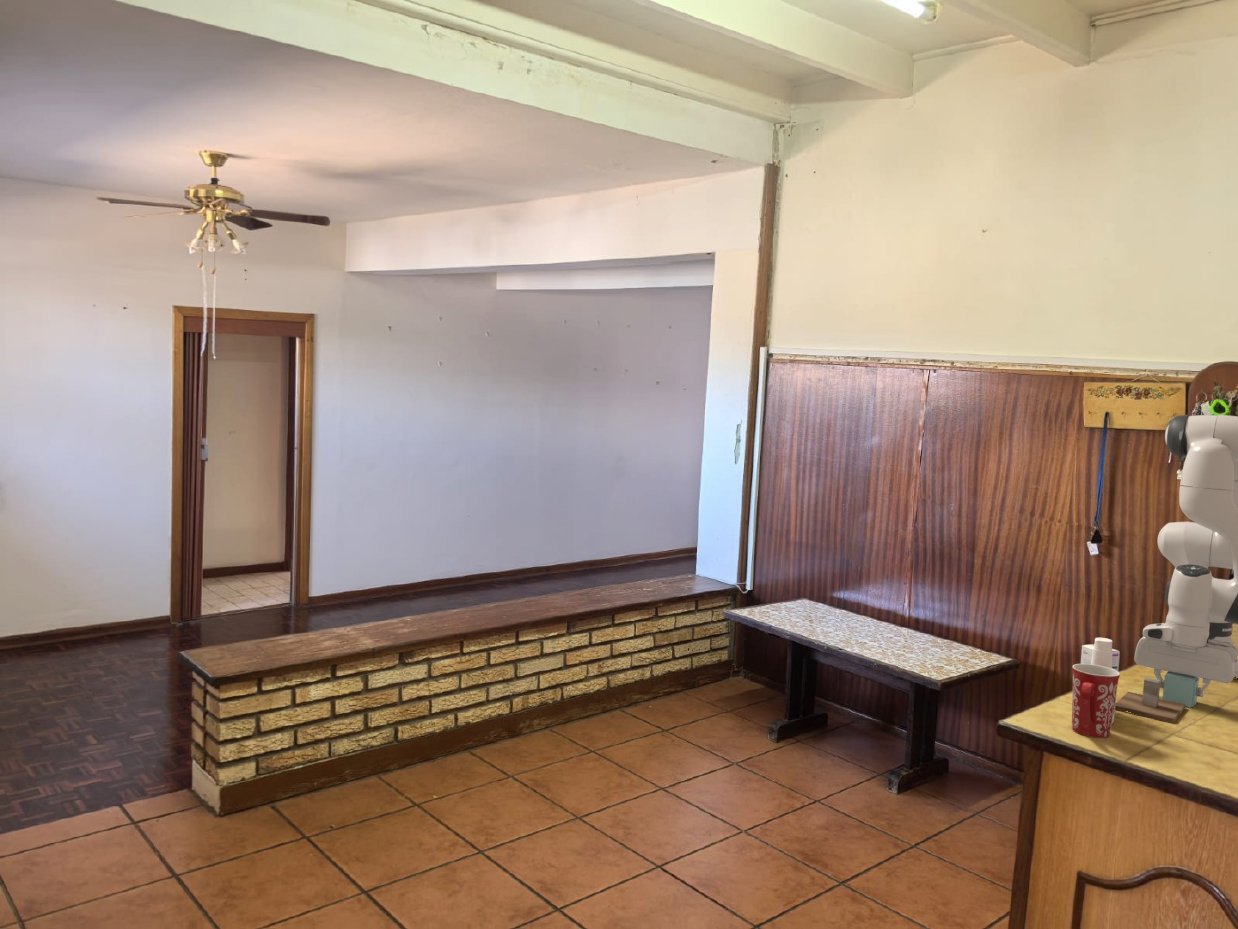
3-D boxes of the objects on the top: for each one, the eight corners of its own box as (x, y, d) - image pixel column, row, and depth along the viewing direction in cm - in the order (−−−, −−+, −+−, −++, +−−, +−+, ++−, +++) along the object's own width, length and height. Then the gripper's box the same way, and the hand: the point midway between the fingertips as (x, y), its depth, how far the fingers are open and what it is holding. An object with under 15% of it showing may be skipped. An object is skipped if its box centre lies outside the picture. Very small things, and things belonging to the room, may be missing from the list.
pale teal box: (1166, 695, 230) (1169, 668, 230) (1197, 701, 226) (1200, 674, 226) (1161, 701, 226) (1164, 673, 225) (1192, 708, 221) (1195, 680, 221)
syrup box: (1115, 714, 214) (1121, 650, 213) (1093, 715, 213) (1099, 651, 212) (1097, 705, 220) (1103, 643, 219) (1075, 706, 218) (1081, 644, 217)
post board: (1127, 695, 228) (1130, 667, 228) (1185, 708, 221) (1188, 679, 220) (1113, 709, 218) (1116, 680, 217) (1173, 723, 210) (1176, 693, 210)
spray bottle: (1117, 727, 206) (1125, 645, 204) (1083, 723, 207) (1091, 642, 206) (1108, 716, 213) (1115, 637, 211) (1075, 712, 214) (1082, 634, 212)
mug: (1073, 721, 209) (1079, 660, 207) (1119, 732, 203) (1125, 670, 201) (1055, 735, 199) (1061, 672, 198) (1102, 747, 193) (1108, 682, 192)
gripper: (1240, 641, 220) (1234, 700, 222) (1141, 623, 233) (1136, 679, 235) (1236, 646, 215) (1230, 706, 217) (1135, 628, 229) (1130, 684, 230)
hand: (1180, 692), depth 226 cm, fingers closed on pale teal box, 6 cm apart
